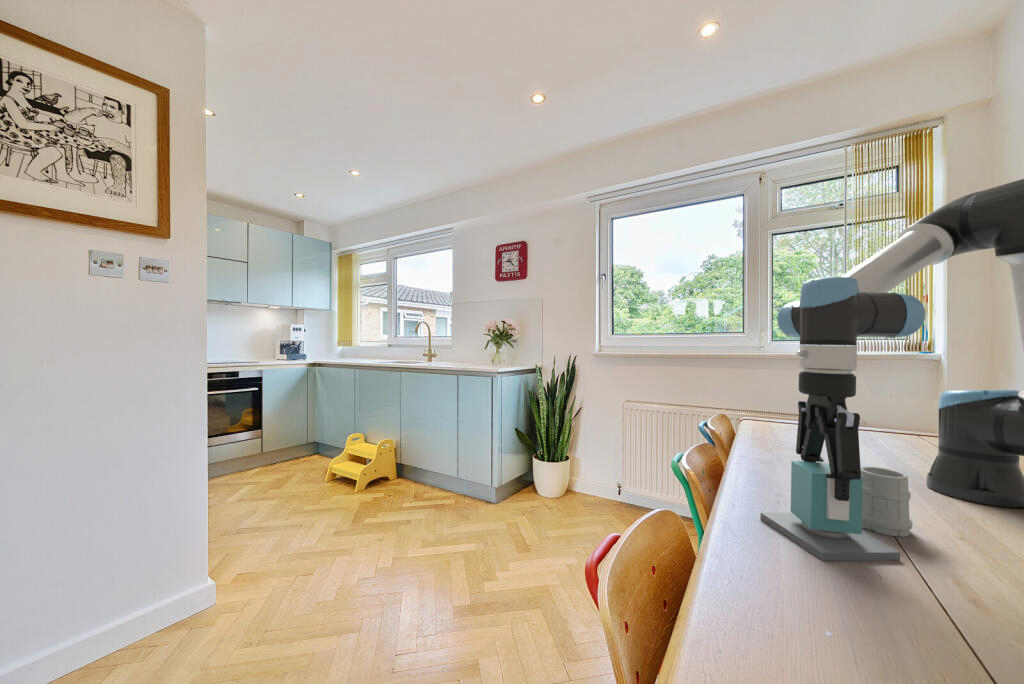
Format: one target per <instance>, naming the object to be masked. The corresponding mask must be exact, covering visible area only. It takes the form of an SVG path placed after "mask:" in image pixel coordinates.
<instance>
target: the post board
mask: <svg viewBox="0 0 1024 684" xmlns="http://www.w3.org/2000/svg"><path fill="white" fill-rule="evenodd" d="M760 520H761V521H762V522H764V523H766V524H767V525H768V526H770V527H771V528H773V529H775V530H776V531H778V532H779V533H780V534H782V535H783V536H785V537H787V538H788V539H790V540H791V541H793V542H794V543H795V544H797V545H798V546H800V547H801V548H803V549H804V550H806V551H807V552H809V553H810V554H812V555H814V556H815V557H817V558H818V559H819V560H821V561H823V562H838V561H839V562H840V561H841V562H843V561H844V562H849V561H850V562H851V561H853V562H854V561H855V562H856V561H857V562H859V561H860V562H861V561H862V562H863V561H864V562H867V561H869V562H871V561H876V562H877V561H878V562H879V561H880V562H881V561H886V562H887V561H901V552H900V551H898V550H897V549H894V548H893V547H891V546H889V545H887V544H885V543H883V542H881V541H879V540H877V539H875V538H873V537H871V536H870V535H868V534H865V533H864V532H862V534H852V533H842V532H833V531H823V530H814V529H810V528H809V527H808V526H807V525H806V524H804V523H803V522H802V521H801V520H800V519H799V518H798V517H796V516H795V515H794V514H793V513H792V512H760Z"/></svg>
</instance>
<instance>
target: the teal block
mask: <svg viewBox="0 0 1024 684" xmlns="http://www.w3.org/2000/svg"><path fill="white" fill-rule="evenodd" d="M790 464H791V467H790V468H791V473H790V513H793V514H794V515H795V516H796V517H798V518H799V519H800V520H801V521H802V522H803V523H804V524H806V525H807V526H808V527H809V528H810V529H814V530H823V531H833V532H842V533H852V534H862V533H863V527H862V497H863V477H862V476H861V479H860V480H858V479H853V480H850V495H849V521H845V520H835V519H829V518H827V517H826V515H827V477H826V474H831V472H830V466H829V462H804V461H802V460H801V461H800V460H791V463H790Z"/></svg>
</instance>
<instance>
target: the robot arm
mask: <svg viewBox="0 0 1024 684" xmlns="http://www.w3.org/2000/svg"><path fill="white" fill-rule="evenodd" d="M987 249H988V250H989V249H994V253H995V258H996V259H998V260H1001V261H1003V262H1006V263H1007V264H1008V265H1009V268H1010V269H1009V270H1010V274H1011V282H1012V286H1013V287H1012V289H1013V292H1014V300H1015V301H1014V302H1015V305H1016V306H1015V307H1016V312H1017V319H1018V325H1019V332H1020V338H1021V339H1020V340H1021V345H1022V351H1023V353H1024V178H1022V179H1017V180H1015V181H1011V182H1008V183H1005V184H1002V185H998V186H994V187H991V188H988V189H983V190H981V191H975V192H971V193H969V194H966V195H963V196H961V197H958V198H956V199H954V200H952V201H950V202H948V203H945V204H944V205H942V206H941V207H938V208H937V209H935V210H933V211H932V212H930V213H928V214H926V215H925V216H923V217H922V218H920V219H918V220H917V221H915V222H913V223H912V224H910V225H909V226H907V227H906V228H904V229H903V230H902V231H901V232H900V233H899V235H898V237H897V239H896V240H895V241H894V242H892V243H891V244H889V245H888V246H886V247H884V248H883V249H881V250H879V252H877V253H875V254H873V255H872V256H871V257H870V258H867V259H866V260H865V261H863V262H861V263H860V264H858V265H857V266H855V267H853V268H852V269H850V270H849V271H848V272H846V273H845V274H843V275H842V276H828V277H827V276H826V277H818V278H814V279H813V278H811V279H808V280H807V281H805V282H804V283H803V284H802V285H801V289H800V298H799V300H795V301H793V302H788V303H786V304H784V305H782V307H780V309H779V311H778V313H777V319H776V323H777V326H778V327H779V329H780V331H781V333H783V334H784V335H785V336H788V337H792V338H799V350H798V351H797V352H796V355H797V356H798V357H799V360H798V361H799V367H800V368H801V369H803V371H800V372H799V373H798V391H799V392H800V393H801V394H804V395H808V397H807V401H806V400H804V401H803V400H798V403H797V407H798V423H797V432H796V433H797V434H796V446H795V454H796V455H800V459H801V461H804V462H818V463H825V460H824V459H823V457H822V456H821V455H822V450H823V448H824V443H825V447H826V453H827V454H826V455H827V459H828V463H829V466H830V472H831V474H826V477H827V515H826V517H827V518H829V519H835V520H845V521H849V495H850V480H853V479H858V480H860V479H861V468H860V467H861V454H860V439H859V438H860V436H859V429H860V428H859V427H860V421H861V416H860V414H859V413H856V412H850V411H848V407H847V403H846V399H847V398H853V397H855V396H856V394H857V376H856V375H855V374H854V373H853V371H856V370H857V365H858V364H857V363H858V361H857V358H858V357H857V355H858V338H885V339H889V338H890V339H895V338H903V337H904V338H905V337H908V336H910V335H911V336H912V334H914V333H916V332H917V331H919V330H920V329H921V327H922V326H923V324H924V322H925V320H926V316H927V314H926V309H925V307H924V304H923V303H922V301H921V300H920V299H918V298H917V297H915V296H913V295H910V294H904V293H898V292H895V291H893V292H890V291H892V290H894V288H896V287H897V286H900V285H901V284H902V283H904V282H905V281H907V280H908V279H910V278H912V277H913V276H914V275H915V274H917V273H919V272H920V271H922V270H923V269H925V268H927V267H928V266H934V265H939V264H941V263H943V262H945V261H947V260H948V259H949V258H952V257H954V256H957V255H960V254H961V255H962V254H965V253H971V252H976V251H982V250H987ZM937 411H938V437H937V439H938V443H937V444H938V451H937V456H936V457H935V459H934V461H933V463H932V465H931V467H930V470H929V472H928V473H927V475H926V486H927V487H928V488H929V489H931V490H934V491H936V492H938V493H941V494H943V495H946V496H950V497H953V498H958V499H961V500H965V501H969V502H974V503H979V504H983V505H989V506H990V505H991V506H995V505H996V507H1002V506H1008V507H1007V508H1012V507H1024V474H1023V471H1022V470H1021V467H1020V456H1021V457H1024V389H1022V390H1020V391H1019V390H1016V389H1015V390H1014V389H1007V390H1006V389H999V390H998V389H991V390H990V389H985V390H984V389H983V390H981V389H979V390H977V389H976V390H975V389H973V390H971V389H970V390H967V389H966V390H965V389H963V390H962V389H961V390H959V389H956V390H953V389H952V390H945V391H944V392H942V393H941V394H940V397H939V403H938V407H937Z"/></svg>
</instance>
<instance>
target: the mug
mask: <svg viewBox="0 0 1024 684" xmlns="http://www.w3.org/2000/svg"><path fill="white" fill-rule="evenodd" d="M860 468H861V476H862V477H863V497H862V528H863V529H866V530H868V531H873V532H875V533H877V534H880V535H885V536H891V537H900V538H903V537H904V538H905V537H908V536H910V534H911V530H912V529H913V521H912V520H911V518H910V500H911V496H912V494H911V492H910V491H909V476H908V474H905V473H902V472H900V471H898V470H892V469H890V468H884V467H877V466H860Z"/></svg>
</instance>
